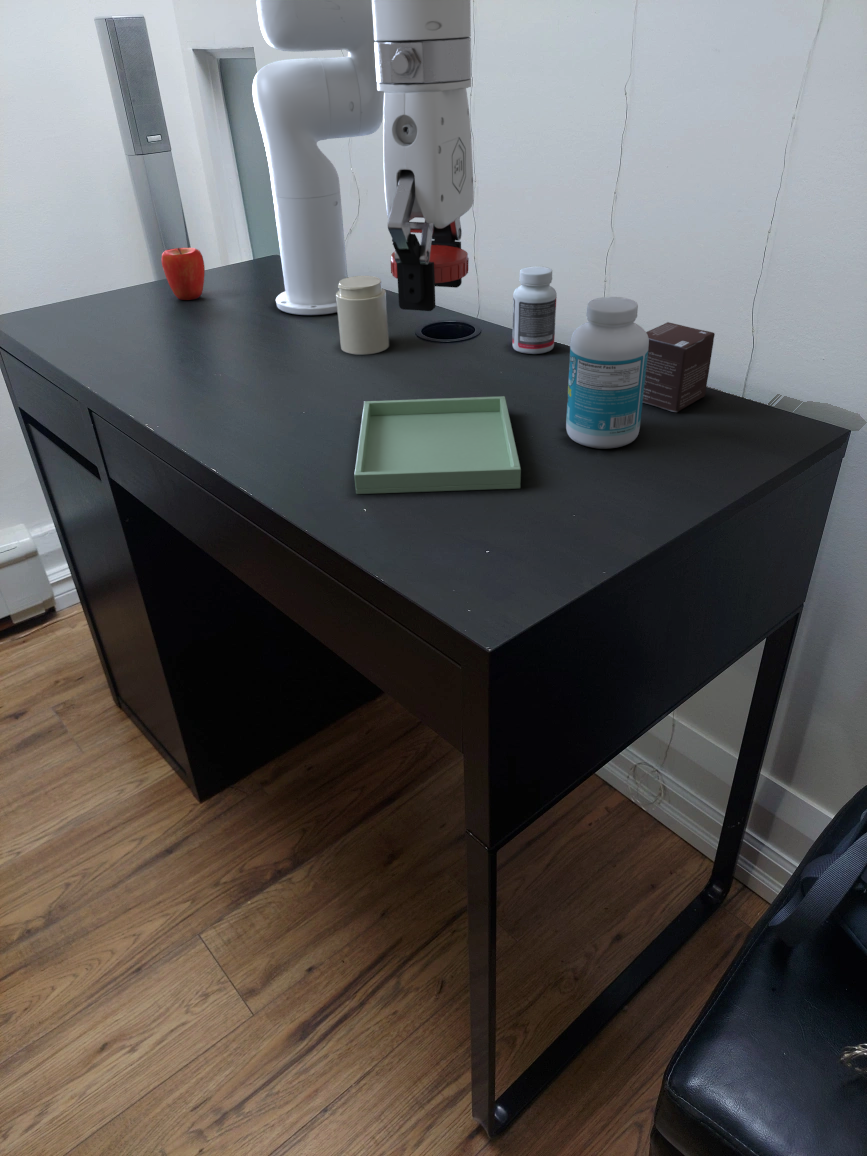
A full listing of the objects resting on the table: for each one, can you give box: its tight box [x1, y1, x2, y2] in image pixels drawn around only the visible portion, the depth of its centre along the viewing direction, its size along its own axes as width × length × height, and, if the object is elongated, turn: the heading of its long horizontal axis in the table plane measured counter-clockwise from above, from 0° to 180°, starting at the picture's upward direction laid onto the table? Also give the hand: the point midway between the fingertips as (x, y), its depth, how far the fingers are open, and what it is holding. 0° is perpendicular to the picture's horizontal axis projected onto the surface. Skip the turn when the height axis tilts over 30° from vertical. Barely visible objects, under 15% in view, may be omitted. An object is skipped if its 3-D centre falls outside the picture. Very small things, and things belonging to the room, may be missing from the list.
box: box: [642, 321, 716, 413], centre depth 92 cm, size 6×6×7 cm
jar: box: [336, 275, 390, 356], centre depth 109 cm, size 6×6×8 cm
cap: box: [390, 245, 470, 283], centre depth 75 cm, size 7×7×2 cm
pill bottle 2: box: [565, 296, 649, 450], centre depth 83 cm, size 8×7×14 cm
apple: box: [161, 247, 206, 301], centre depth 131 cm, size 6×6×8 cm
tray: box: [353, 395, 522, 495], centre depth 84 cm, size 17×15×2 cm
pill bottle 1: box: [511, 265, 558, 355], centre depth 106 cm, size 5×5×10 cm
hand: (431, 295), depth 76 cm, fingers closed on cap, 6 cm apart
